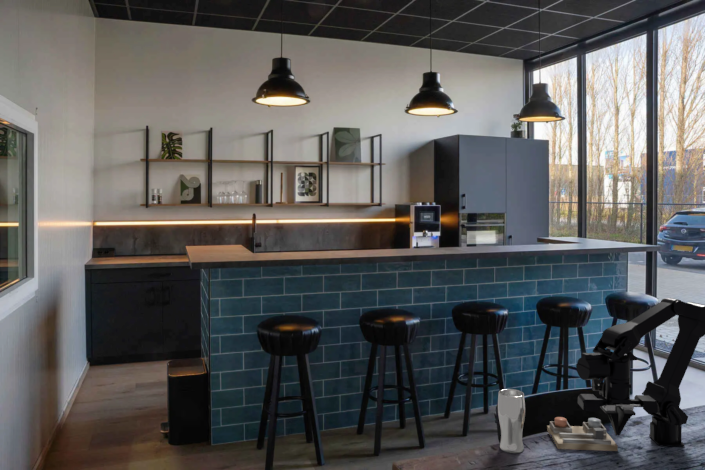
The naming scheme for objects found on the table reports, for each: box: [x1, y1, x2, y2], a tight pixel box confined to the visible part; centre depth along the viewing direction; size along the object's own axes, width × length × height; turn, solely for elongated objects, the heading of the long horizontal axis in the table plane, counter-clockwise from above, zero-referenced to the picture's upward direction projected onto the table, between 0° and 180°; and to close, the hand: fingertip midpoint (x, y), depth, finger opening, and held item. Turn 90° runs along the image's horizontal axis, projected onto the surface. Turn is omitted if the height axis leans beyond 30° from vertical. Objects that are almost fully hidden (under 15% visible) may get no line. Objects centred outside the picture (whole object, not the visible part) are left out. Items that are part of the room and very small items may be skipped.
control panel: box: [546, 420, 619, 452], centre depth 147 cm, size 15×12×3 cm
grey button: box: [587, 417, 602, 428], centre depth 149 cm, size 3×3×2 cm
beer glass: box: [497, 388, 526, 454], centre depth 142 cm, size 7×7×15 cm
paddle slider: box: [593, 428, 604, 439], centre depth 143 cm, size 2×2×3 cm
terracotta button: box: [554, 416, 568, 427], centre depth 150 cm, size 3×3×2 cm
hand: (617, 434), depth 142 cm, fingers closed
